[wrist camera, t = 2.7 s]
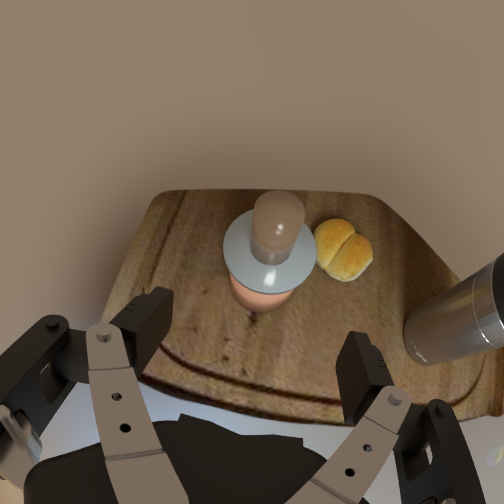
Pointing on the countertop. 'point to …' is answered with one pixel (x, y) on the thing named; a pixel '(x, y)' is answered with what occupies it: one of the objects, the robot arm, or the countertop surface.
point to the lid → (271, 245)
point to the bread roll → (341, 250)
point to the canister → (257, 298)
